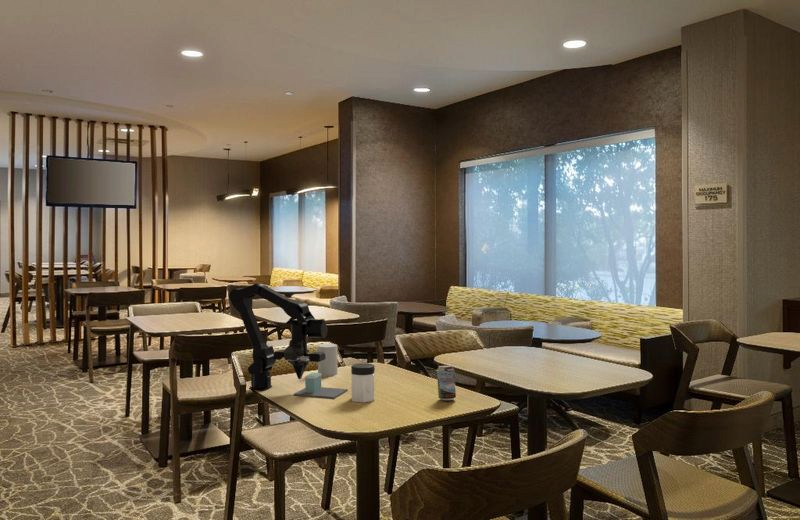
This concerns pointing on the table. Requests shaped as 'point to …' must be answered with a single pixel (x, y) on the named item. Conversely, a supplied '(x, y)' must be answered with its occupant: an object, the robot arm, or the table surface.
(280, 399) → the table surface
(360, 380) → the jar
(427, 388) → the table surface
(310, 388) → the pale teal block
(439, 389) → the beverage can
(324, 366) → the cup
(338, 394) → the mat
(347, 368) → the table surface
